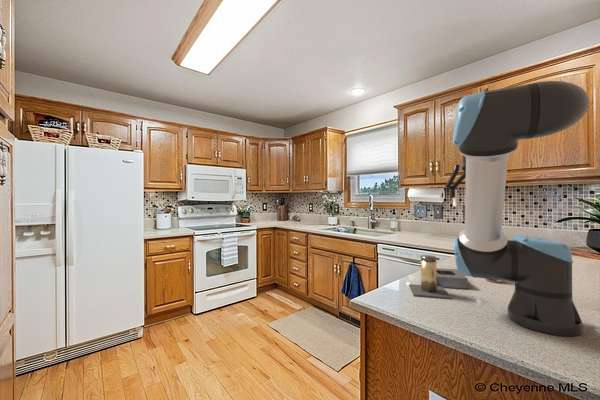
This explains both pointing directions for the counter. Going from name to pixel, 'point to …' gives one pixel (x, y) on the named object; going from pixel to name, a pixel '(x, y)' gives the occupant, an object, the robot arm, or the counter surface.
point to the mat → (439, 294)
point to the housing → (451, 278)
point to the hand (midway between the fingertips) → (474, 206)
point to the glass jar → (428, 274)
